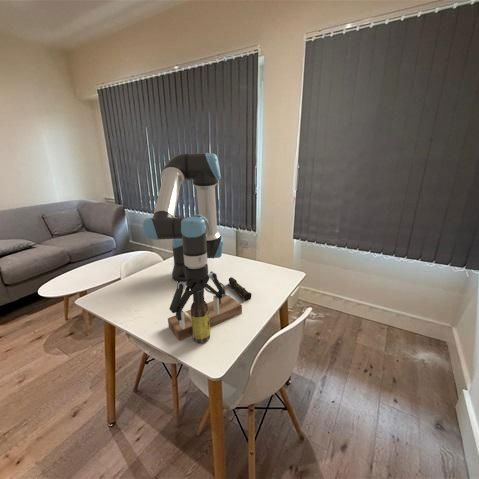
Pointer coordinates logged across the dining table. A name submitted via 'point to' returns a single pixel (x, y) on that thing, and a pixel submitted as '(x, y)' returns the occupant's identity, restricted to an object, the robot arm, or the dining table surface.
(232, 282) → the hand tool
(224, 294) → the pliers
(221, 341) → the dining table surface
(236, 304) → the walnut plank
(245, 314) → the dining table surface
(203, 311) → the sauce bottle
